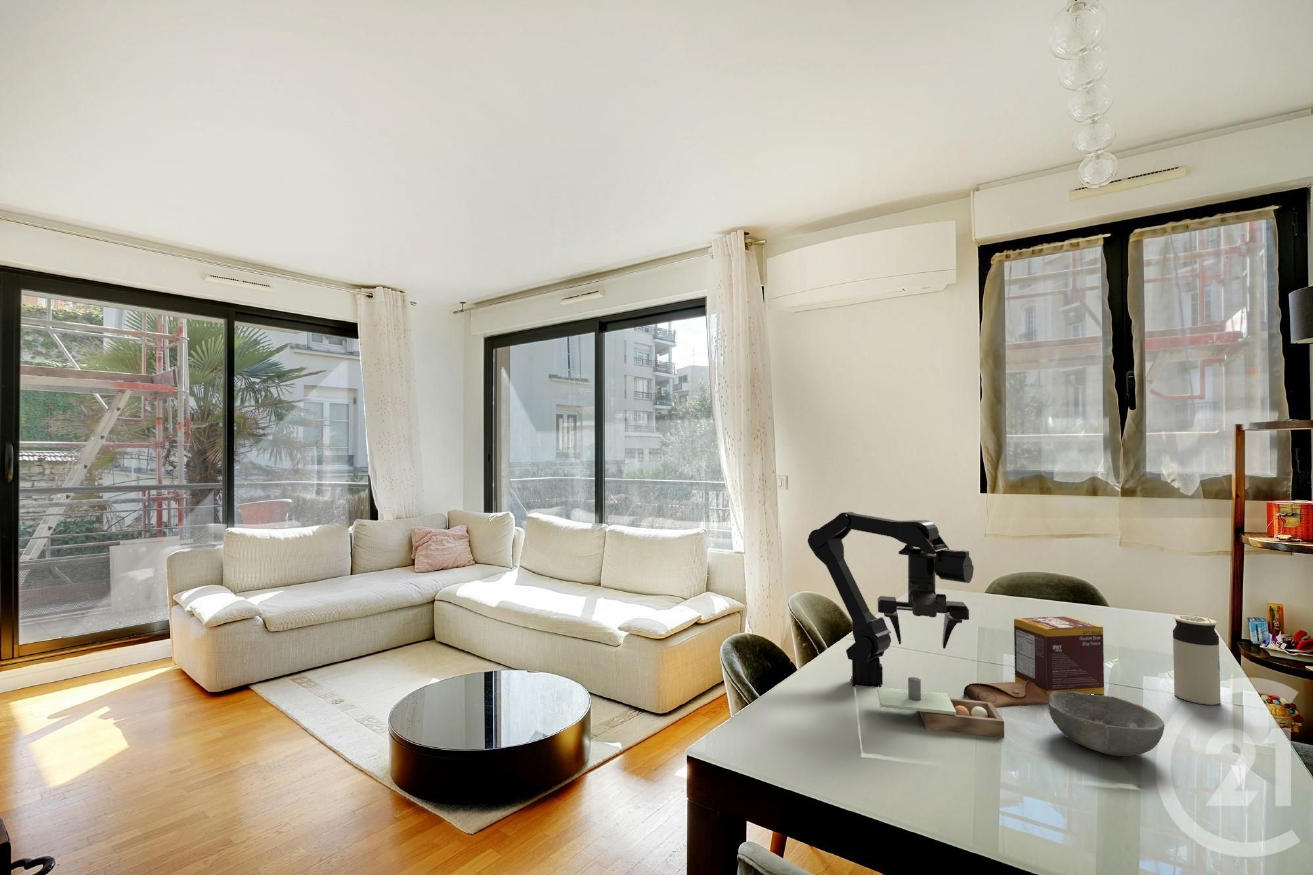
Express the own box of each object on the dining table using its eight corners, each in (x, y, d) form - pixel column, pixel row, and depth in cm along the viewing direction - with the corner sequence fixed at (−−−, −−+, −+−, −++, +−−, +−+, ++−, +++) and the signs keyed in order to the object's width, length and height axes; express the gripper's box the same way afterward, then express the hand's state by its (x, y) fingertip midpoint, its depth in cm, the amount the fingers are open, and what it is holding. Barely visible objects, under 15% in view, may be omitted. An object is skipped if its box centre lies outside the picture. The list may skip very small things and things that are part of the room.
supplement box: (1105, 694, 145) (1104, 626, 146) (1046, 698, 143) (1045, 628, 144) (1069, 679, 156) (1068, 615, 156) (1013, 682, 153) (1012, 617, 154)
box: (925, 731, 125) (925, 713, 125) (919, 712, 134) (918, 695, 134) (1004, 740, 121) (1004, 721, 121) (991, 719, 131) (991, 702, 131)
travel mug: (1173, 699, 143) (1171, 619, 143) (1175, 690, 148) (1173, 613, 149) (1220, 708, 137) (1217, 625, 138) (1221, 698, 143) (1218, 618, 144)
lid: (880, 707, 127) (880, 683, 127) (877, 689, 137) (876, 668, 137) (956, 714, 123) (955, 691, 123) (947, 696, 133) (946, 674, 133)
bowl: (1172, 783, 105) (1171, 734, 105) (1048, 756, 114) (1047, 712, 115) (1157, 743, 120) (1156, 700, 121) (1048, 722, 130) (1048, 682, 130)
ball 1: (954, 723, 127) (954, 708, 128) (951, 717, 130) (951, 702, 130) (970, 724, 127) (970, 709, 127) (967, 718, 129) (967, 704, 130)
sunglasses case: (989, 711, 134) (977, 679, 138) (970, 717, 140) (959, 686, 144) (1061, 706, 138) (1049, 674, 141) (1040, 712, 144) (1028, 682, 147)
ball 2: (973, 724, 127) (972, 708, 127) (969, 718, 130) (969, 703, 130) (989, 725, 126) (989, 710, 126) (985, 719, 129) (985, 705, 129)
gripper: (879, 579, 138) (878, 652, 137) (973, 586, 132) (973, 661, 132) (877, 571, 148) (877, 638, 148) (964, 576, 143) (965, 646, 142)
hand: (921, 645), depth 142 cm, fingers open, 9 cm apart
